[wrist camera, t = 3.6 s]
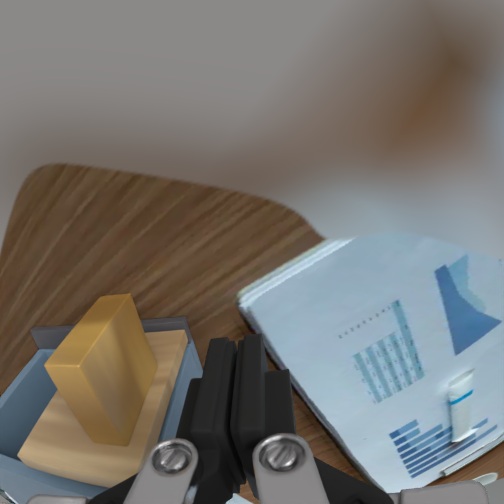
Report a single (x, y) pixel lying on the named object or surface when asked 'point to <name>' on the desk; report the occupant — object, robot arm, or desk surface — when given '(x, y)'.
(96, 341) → the tan piece
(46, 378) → the grey-blue hollow box
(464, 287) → the desk surface
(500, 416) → the desk surface
